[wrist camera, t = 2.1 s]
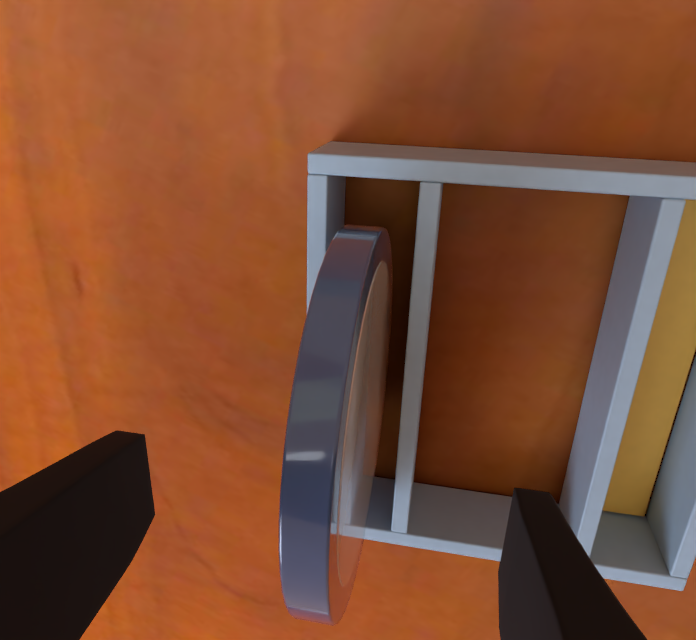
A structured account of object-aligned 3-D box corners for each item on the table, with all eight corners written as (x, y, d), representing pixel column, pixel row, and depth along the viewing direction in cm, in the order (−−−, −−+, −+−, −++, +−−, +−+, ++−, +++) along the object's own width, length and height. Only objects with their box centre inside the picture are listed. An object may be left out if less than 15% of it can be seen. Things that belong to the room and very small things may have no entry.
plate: (382, 458, 20) (324, 728, 12) (355, 454, 20) (279, 718, 12) (401, 193, 16) (337, 314, 8) (367, 191, 16) (272, 307, 8)
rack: (657, 529, 19) (683, 592, 17) (322, 479, 21) (305, 529, 18) (775, 166, 14) (834, 185, 12) (329, 140, 16) (307, 152, 14)
